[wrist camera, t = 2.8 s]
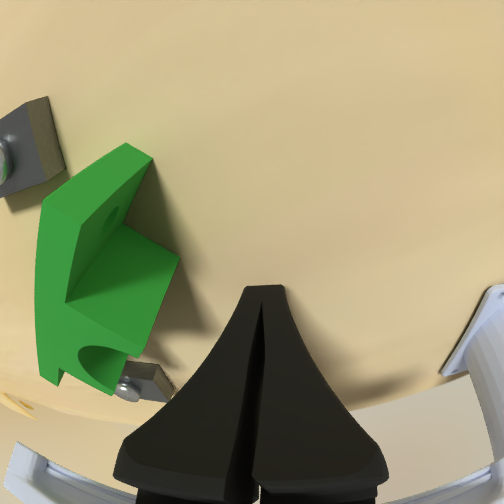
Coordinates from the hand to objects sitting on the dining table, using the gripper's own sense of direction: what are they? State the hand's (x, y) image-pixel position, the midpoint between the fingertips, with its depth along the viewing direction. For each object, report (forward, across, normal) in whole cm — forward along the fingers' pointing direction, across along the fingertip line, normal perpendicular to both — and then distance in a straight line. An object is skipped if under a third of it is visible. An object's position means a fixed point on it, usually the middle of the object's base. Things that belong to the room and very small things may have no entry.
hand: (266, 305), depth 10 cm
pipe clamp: (+1, +6, -1) cm, 7 cm away
